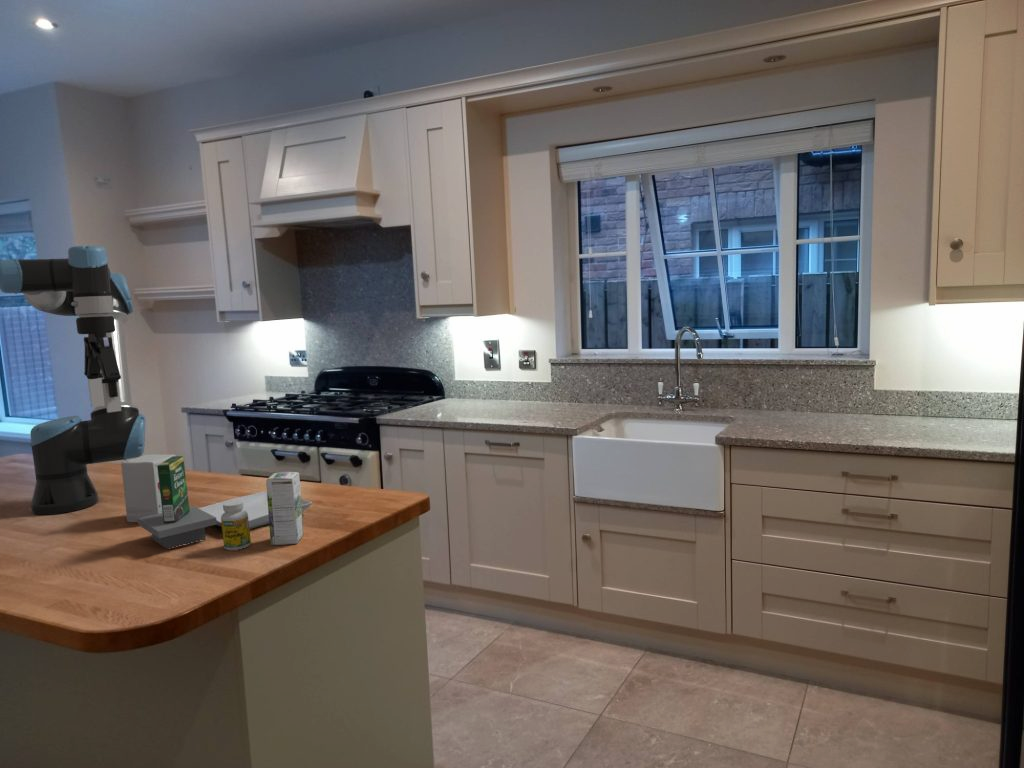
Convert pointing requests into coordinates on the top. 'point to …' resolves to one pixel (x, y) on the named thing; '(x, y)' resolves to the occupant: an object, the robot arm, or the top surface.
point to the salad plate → (249, 509)
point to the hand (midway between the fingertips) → (105, 409)
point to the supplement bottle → (235, 526)
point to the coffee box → (173, 489)
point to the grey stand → (178, 527)
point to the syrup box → (284, 508)
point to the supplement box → (142, 486)
